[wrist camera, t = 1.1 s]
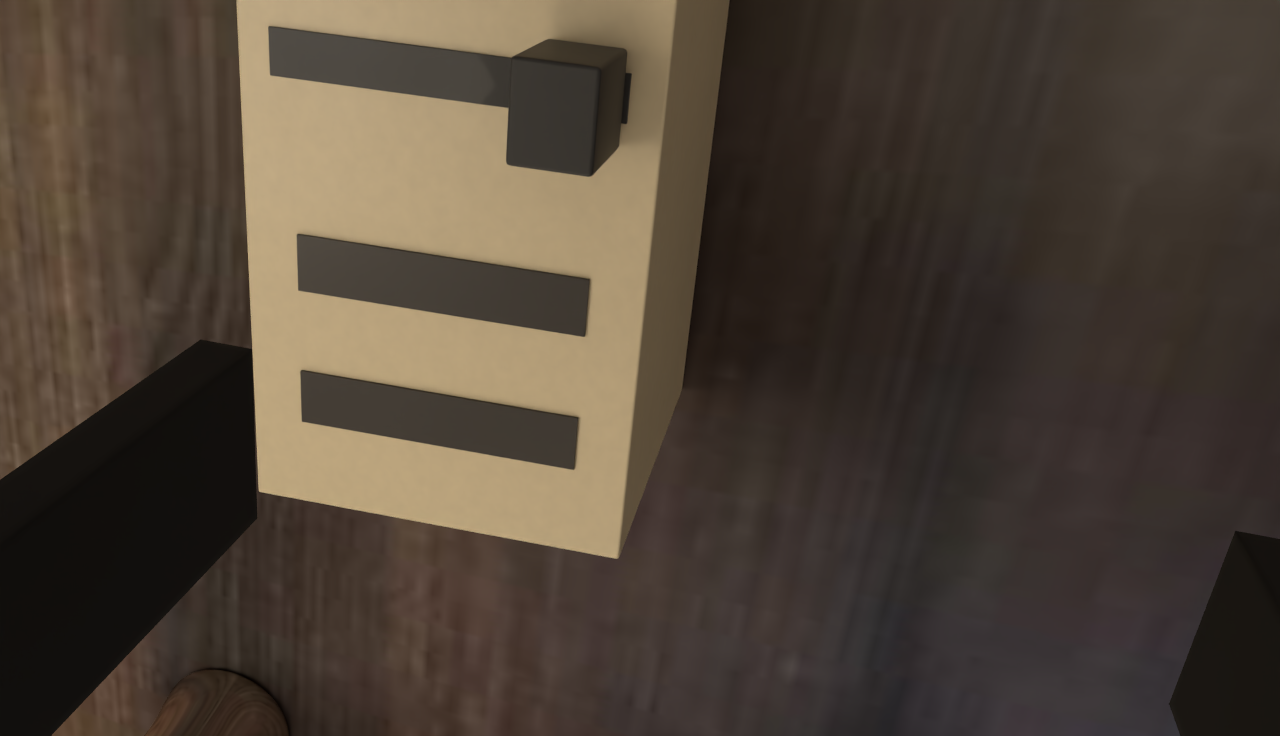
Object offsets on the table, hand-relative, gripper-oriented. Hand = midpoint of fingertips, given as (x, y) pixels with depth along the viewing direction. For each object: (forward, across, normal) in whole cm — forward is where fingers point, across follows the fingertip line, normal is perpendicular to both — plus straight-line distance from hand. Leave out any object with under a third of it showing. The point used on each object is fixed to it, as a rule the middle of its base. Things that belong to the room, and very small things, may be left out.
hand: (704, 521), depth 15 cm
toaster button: (+14, -5, +2) cm, 15 cm away
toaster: (+26, -8, -3) cm, 28 cm away
